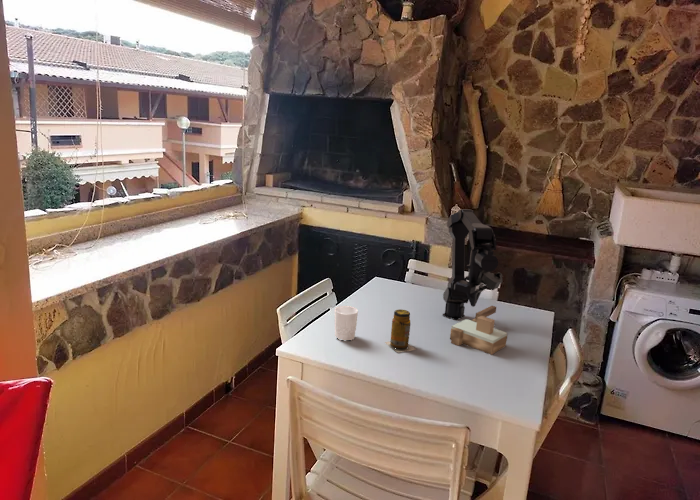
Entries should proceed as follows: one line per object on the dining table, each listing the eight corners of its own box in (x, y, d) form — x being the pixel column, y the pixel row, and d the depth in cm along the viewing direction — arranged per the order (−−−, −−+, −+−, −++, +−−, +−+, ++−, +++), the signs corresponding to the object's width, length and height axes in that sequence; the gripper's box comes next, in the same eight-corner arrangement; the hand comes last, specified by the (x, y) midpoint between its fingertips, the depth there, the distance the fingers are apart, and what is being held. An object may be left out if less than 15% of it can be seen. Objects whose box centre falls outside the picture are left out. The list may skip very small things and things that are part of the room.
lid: (451, 328, 179) (453, 313, 178) (466, 321, 186) (467, 307, 185) (492, 343, 169) (495, 327, 168) (506, 335, 176) (508, 320, 175)
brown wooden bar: (475, 318, 186) (475, 313, 185) (491, 311, 194) (492, 305, 194) (479, 320, 185) (480, 314, 184) (495, 312, 193) (496, 306, 193)
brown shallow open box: (445, 341, 179) (447, 327, 177) (468, 329, 189) (469, 316, 188) (487, 357, 168) (489, 342, 167) (509, 344, 179) (510, 330, 178)
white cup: (359, 335, 179) (361, 308, 177) (350, 344, 172) (352, 316, 170) (339, 330, 182) (340, 304, 180) (329, 338, 175) (330, 311, 173)
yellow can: (402, 339, 178) (405, 307, 175) (416, 350, 171) (419, 316, 168) (384, 342, 175) (387, 309, 172) (397, 353, 167) (400, 318, 164)
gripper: (486, 273, 164) (480, 319, 168) (512, 263, 178) (506, 306, 182) (455, 265, 172) (450, 309, 175) (483, 257, 185) (478, 298, 189)
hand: (472, 306), depth 180 cm, fingers closed
